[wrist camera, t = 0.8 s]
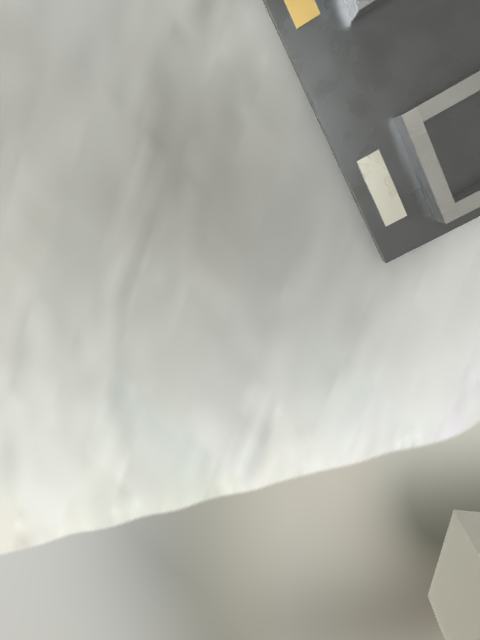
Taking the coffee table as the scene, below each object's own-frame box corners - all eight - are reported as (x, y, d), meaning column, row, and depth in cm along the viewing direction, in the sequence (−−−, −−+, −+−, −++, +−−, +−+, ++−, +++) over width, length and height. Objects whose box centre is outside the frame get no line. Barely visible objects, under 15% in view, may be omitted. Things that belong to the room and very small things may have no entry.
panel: (225, -80, 27) (221, -109, 24) (482, -266, 24) (511, -324, 21) (382, 260, 33) (393, 268, 31) (601, 149, 30) (636, 148, 27)
